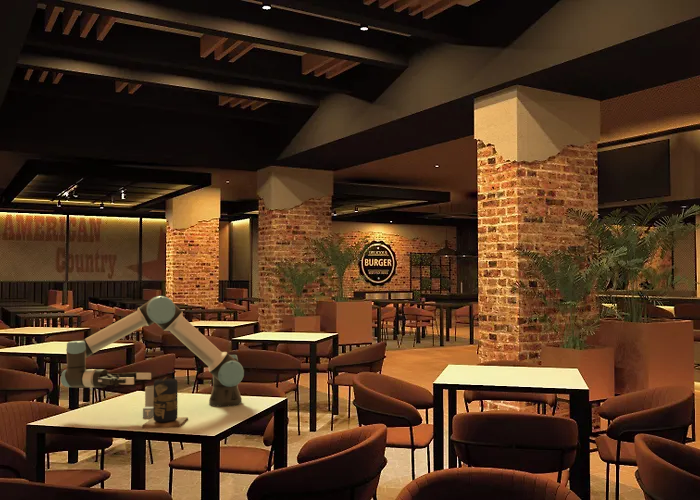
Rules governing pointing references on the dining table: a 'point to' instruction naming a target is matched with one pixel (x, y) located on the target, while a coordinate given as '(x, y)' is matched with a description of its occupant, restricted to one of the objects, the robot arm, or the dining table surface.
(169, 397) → the canister
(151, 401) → the mug
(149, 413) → the letter cube
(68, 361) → the robot arm
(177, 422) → the walnut board
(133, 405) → the dining table surface
